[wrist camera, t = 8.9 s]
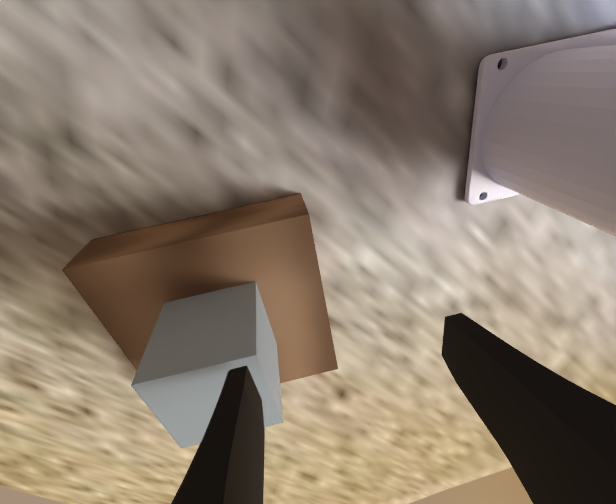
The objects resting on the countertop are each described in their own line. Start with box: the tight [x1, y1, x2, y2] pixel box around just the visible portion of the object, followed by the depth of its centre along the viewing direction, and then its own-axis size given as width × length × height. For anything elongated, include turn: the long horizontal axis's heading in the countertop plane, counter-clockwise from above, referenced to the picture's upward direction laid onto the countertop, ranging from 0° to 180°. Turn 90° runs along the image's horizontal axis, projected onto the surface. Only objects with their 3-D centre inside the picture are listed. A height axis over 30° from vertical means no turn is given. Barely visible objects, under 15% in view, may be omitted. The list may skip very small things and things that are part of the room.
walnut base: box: [62, 194, 338, 383], centre depth 19 cm, size 12×12×3 cm
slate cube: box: [131, 282, 283, 448], centre depth 15 cm, size 5×5×5 cm
